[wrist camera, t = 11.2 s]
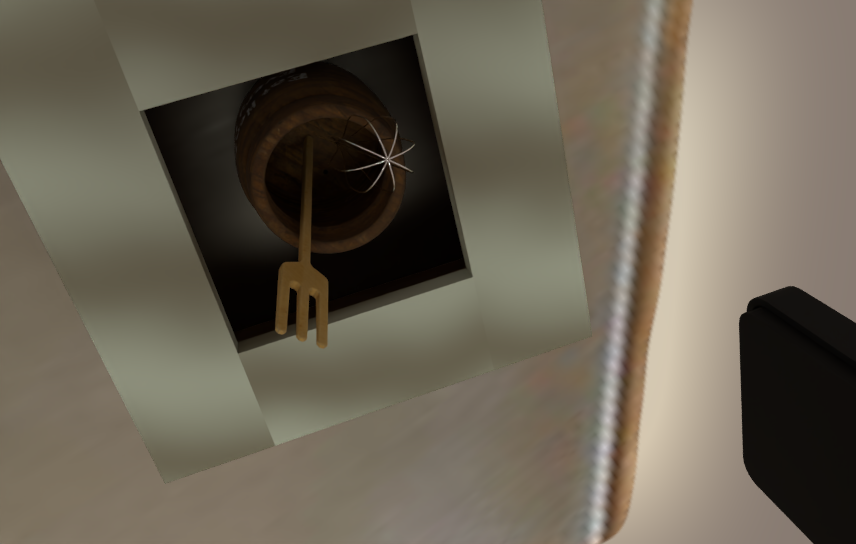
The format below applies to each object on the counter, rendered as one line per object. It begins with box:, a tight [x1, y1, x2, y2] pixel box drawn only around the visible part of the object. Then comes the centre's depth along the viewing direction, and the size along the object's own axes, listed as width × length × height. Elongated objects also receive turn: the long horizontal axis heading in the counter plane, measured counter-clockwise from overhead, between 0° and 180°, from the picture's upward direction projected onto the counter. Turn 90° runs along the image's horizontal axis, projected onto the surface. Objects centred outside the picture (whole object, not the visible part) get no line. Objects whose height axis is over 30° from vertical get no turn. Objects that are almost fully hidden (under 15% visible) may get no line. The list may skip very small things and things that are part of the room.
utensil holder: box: [235, 62, 415, 349], centre depth 25 cm, size 6×6×12 cm
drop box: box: [0, 0, 592, 484], centre depth 26 cm, size 16×16×8 cm
